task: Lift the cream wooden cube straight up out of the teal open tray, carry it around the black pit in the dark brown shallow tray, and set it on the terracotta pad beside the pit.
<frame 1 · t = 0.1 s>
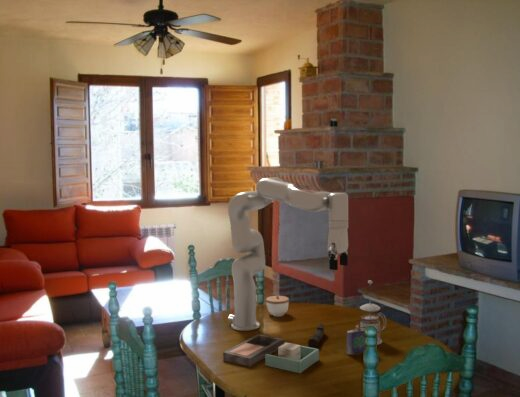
hand: (338, 267, 216), 31 cm above the table, tool pointing down, fingers open, 9 cm apart
cube: (289, 362, 201), resting in teal open tray
lidded jar: (277, 315, 260), on the table
dark brown shallow tray: (254, 353, 210), on the table
flask: (357, 353, 209), on the table
teal open tray: (291, 362, 200), on the table
french press: (372, 341, 221), on the table
hand tool: (316, 341, 224), on the table
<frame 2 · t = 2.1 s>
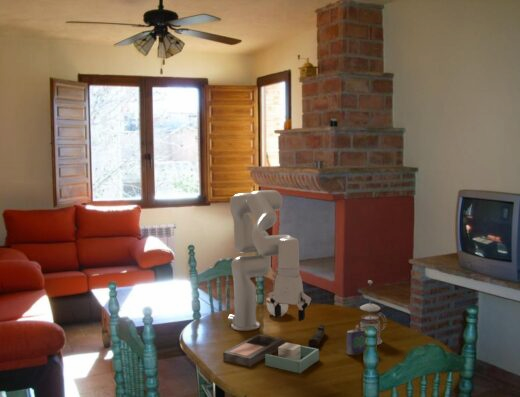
hand: (289, 318, 199), 16 cm above the table, tool pointing down, fingers open, 9 cm apart
nothing on the table moved.
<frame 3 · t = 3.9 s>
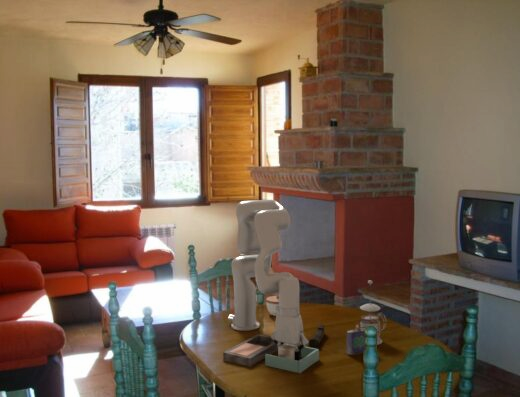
hand: (289, 358, 201), 1 cm above the table, tool pointing down, fingers closed on cube, 6 cm apart
cube: (289, 362, 201), resting in teal open tray, touching gripper
everything else where it was.
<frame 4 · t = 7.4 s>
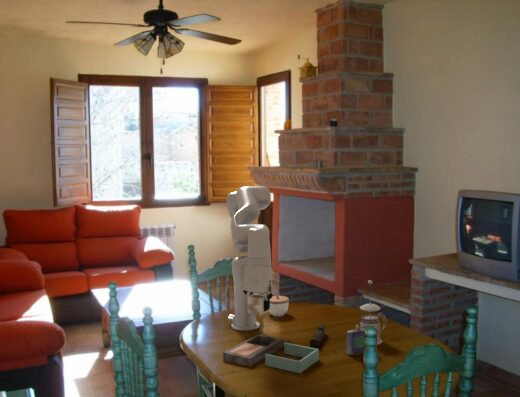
hand: (258, 308, 203), 19 cm above the table, tool pointing down, fingers closed on cube, 6 cm apart
cube: (258, 311, 203), point 18 cm above the table, touching gripper
everything else where it was.
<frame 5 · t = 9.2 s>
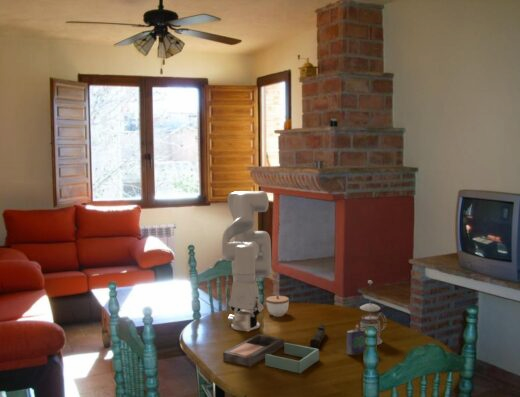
hand: (245, 324, 204), 13 cm above the table, tool pointing down, fingers closed on cube, 6 cm apart
cube: (245, 328, 204), point 11 cm above the table, touching gripper
everything else where it was.
when the fingers open (5 cm above the table, at t = 10.9 s): cube drops 1 cm, resting on dark brown shallow tray.
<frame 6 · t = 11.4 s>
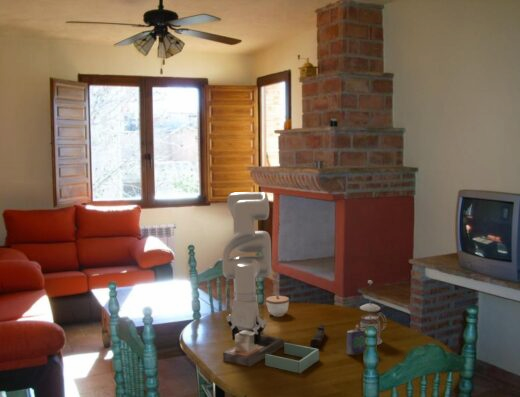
hand: (246, 341, 205), 6 cm above the table, tool pointing down, fingers open, 9 cm apart
cube: (246, 349, 205), point 3 cm above the table, touching dark brown shallow tray
everything else where it was.
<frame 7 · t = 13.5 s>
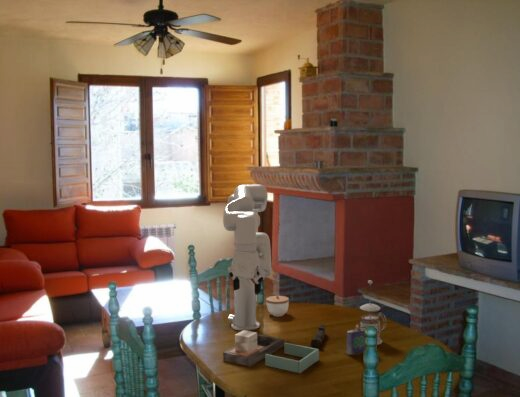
hand: (247, 291, 209), 24 cm above the table, tool pointing down, fingers open, 9 cm apart
nothing on the table moved.
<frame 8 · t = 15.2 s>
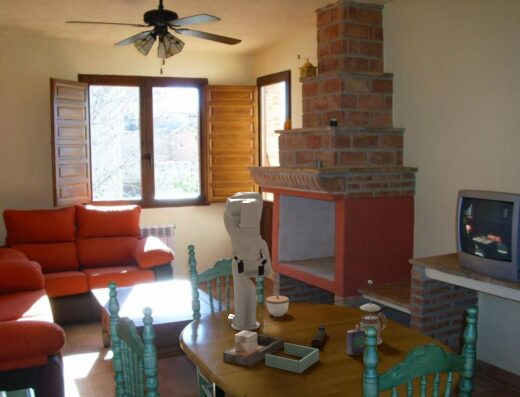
hand: (251, 274, 219), 28 cm above the table, tool pointing down, fingers open, 9 cm apart
nothing on the table moved.
at the end: cube inside the target area on the dark brown shallow tray (0.1 cm from its centre), point 3.2 cm above the dark brown shallow tray's base; cube tilted 0°; the gripper is holding nothing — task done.
